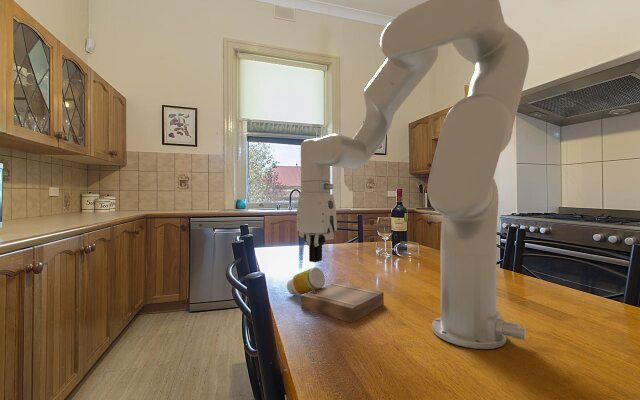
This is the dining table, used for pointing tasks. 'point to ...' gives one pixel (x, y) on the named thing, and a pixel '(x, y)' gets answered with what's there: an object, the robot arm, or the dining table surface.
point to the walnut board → (342, 301)
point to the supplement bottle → (306, 281)
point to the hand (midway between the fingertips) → (315, 261)
